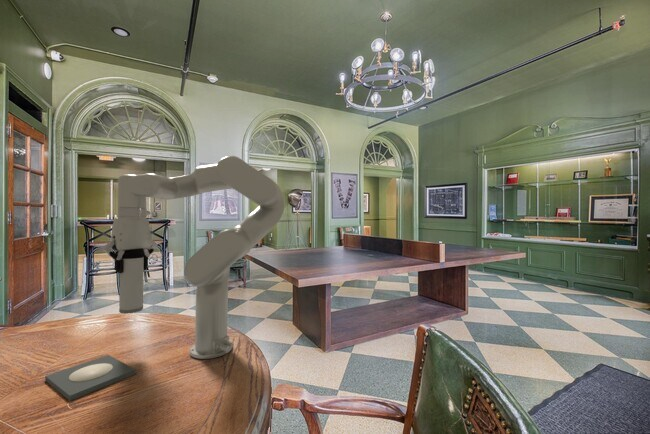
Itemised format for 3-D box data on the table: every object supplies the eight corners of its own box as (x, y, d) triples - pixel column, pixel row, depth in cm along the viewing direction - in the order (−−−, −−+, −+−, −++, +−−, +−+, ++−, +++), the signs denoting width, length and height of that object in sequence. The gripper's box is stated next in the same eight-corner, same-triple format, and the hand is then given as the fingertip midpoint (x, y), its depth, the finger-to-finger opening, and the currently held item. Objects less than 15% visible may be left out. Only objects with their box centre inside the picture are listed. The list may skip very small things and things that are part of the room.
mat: (135, 373, 78) (135, 368, 78) (69, 401, 67) (69, 394, 67) (108, 358, 87) (108, 354, 87) (45, 380, 75) (45, 375, 75)
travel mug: (147, 307, 96) (148, 246, 96) (135, 313, 89) (136, 248, 89) (128, 307, 95) (129, 246, 96) (114, 313, 89) (115, 248, 89)
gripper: (153, 214, 102) (153, 266, 102) (94, 213, 87) (93, 274, 87) (165, 214, 98) (165, 268, 98) (105, 213, 83) (105, 276, 83)
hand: (131, 270), depth 92 cm, fingers closed on travel mug, 6 cm apart
